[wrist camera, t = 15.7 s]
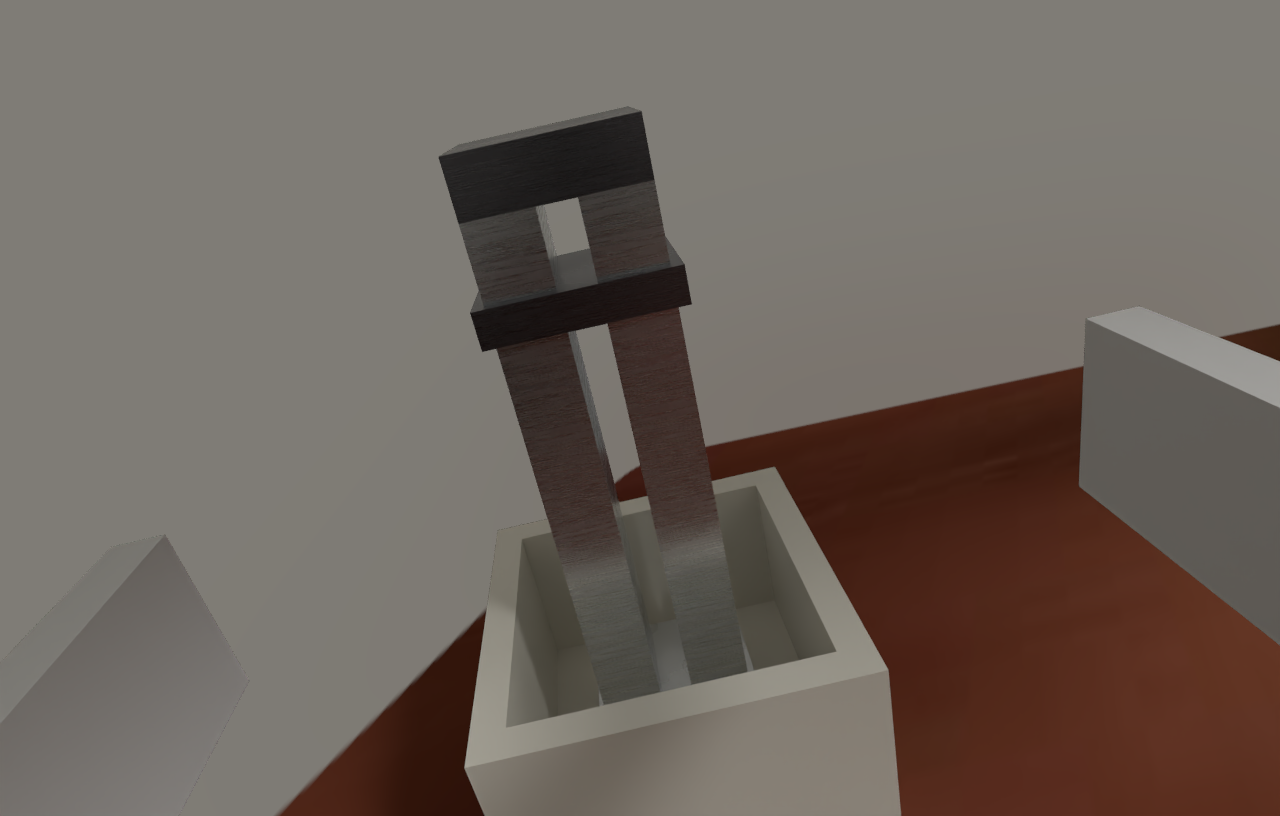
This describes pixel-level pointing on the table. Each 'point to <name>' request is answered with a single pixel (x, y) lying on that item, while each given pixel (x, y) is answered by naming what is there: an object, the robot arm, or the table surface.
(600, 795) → the open box
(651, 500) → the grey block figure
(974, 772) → the table surface
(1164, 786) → the table surface
